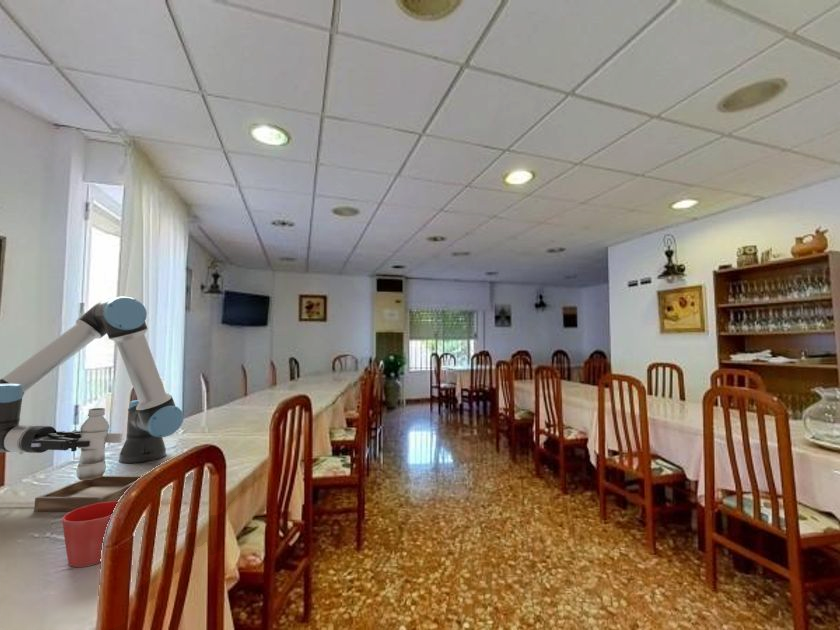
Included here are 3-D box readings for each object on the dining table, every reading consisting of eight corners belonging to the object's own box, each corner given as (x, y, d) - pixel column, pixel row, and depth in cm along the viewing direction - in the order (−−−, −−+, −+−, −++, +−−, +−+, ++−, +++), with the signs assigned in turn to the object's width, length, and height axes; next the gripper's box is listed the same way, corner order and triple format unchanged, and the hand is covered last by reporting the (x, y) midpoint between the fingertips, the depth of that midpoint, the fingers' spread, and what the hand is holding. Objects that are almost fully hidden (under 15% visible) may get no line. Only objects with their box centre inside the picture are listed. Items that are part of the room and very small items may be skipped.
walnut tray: (91, 486, 120) (92, 475, 120) (148, 487, 120) (148, 476, 120) (33, 511, 102) (35, 498, 102) (100, 512, 102) (101, 499, 102)
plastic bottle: (88, 484, 106) (95, 411, 108) (68, 481, 107) (76, 410, 109) (111, 476, 112) (117, 408, 114) (92, 474, 114) (99, 406, 115)
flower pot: (85, 545, 86) (89, 500, 87) (136, 543, 87) (139, 500, 88) (43, 573, 75) (47, 522, 76) (101, 571, 76) (105, 521, 77)
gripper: (61, 443, 120) (134, 445, 120) (-5, 461, 101) (82, 463, 101) (64, 419, 120) (137, 421, 121) (-2, 433, 101) (85, 434, 102)
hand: (111, 440), depth 111 cm, fingers closed on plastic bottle, 6 cm apart
